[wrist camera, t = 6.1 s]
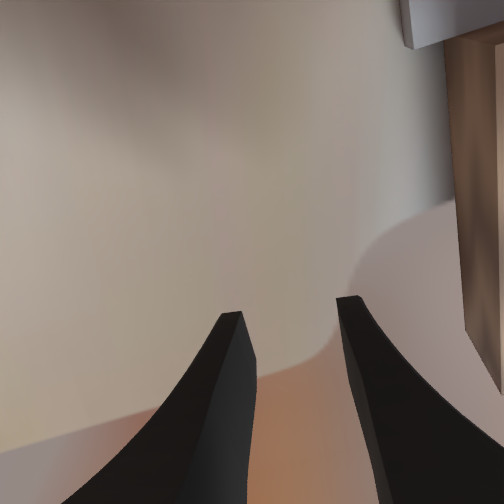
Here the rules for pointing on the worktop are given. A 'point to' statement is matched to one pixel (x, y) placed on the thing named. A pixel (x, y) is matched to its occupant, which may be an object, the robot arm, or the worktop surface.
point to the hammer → (473, 153)
